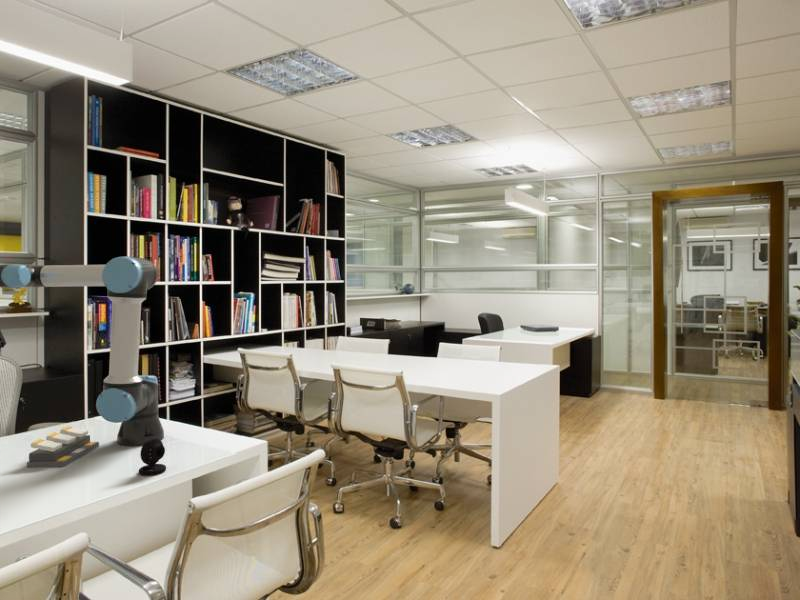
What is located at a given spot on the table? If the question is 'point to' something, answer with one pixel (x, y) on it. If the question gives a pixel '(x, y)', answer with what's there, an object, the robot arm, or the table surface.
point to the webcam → (152, 457)
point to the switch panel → (63, 463)
